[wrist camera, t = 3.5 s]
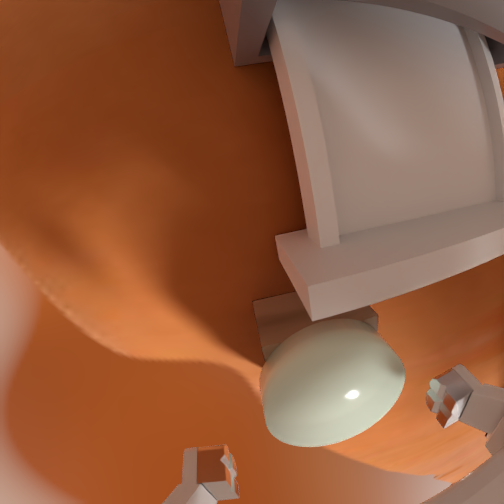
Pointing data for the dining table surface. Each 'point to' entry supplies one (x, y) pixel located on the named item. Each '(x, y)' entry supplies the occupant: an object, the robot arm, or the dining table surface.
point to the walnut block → (294, 319)
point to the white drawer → (386, 150)
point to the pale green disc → (329, 383)
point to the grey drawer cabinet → (427, 3)
